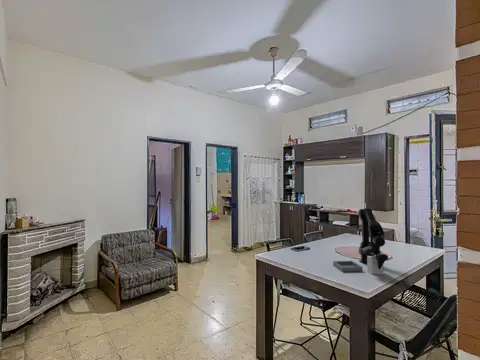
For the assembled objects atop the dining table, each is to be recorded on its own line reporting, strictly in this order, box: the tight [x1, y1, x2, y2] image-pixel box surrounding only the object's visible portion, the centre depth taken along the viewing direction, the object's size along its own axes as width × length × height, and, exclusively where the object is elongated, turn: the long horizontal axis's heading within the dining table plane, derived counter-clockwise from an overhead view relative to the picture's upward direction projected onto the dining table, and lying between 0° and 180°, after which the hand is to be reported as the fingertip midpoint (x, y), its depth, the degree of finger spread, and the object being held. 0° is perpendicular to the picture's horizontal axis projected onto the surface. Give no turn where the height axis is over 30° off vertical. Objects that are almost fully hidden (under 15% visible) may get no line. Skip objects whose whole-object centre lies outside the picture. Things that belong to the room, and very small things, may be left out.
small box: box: [366, 255, 384, 275], centre depth 171 cm, size 8×6×10 cm
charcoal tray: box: [332, 260, 363, 273], centre depth 180 cm, size 14×14×3 cm
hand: (375, 266), depth 171 cm, fingers open, 9 cm apart
